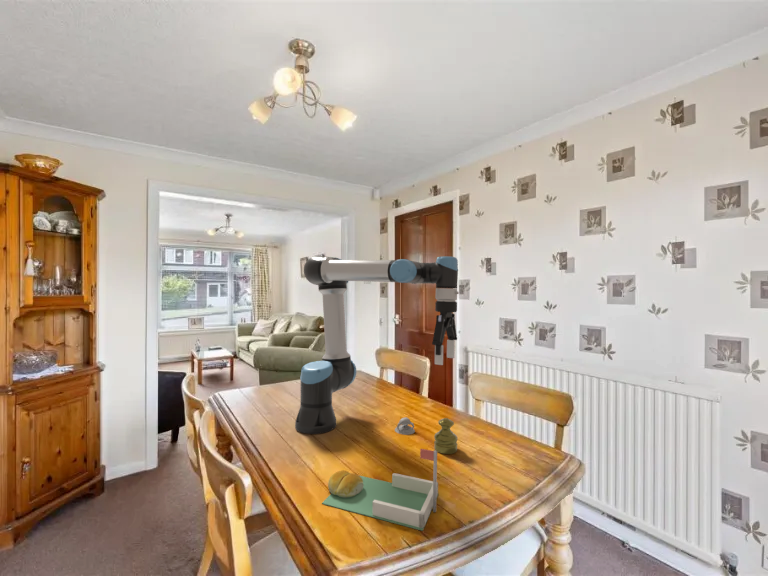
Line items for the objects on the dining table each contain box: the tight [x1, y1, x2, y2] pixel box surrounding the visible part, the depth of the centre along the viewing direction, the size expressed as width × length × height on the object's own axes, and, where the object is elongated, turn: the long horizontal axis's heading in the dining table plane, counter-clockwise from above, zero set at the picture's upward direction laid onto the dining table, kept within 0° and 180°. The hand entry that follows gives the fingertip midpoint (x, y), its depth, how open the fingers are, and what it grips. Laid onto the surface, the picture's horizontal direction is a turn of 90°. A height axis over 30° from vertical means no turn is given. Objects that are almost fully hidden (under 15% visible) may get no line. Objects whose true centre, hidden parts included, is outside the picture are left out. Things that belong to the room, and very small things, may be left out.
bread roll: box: [327, 469, 364, 498], centre depth 92 cm, size 8×9×4 cm
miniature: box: [394, 417, 416, 436], centre depth 132 cm, size 8×8×5 cm
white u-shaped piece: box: [372, 448, 439, 529], centre depth 86 cm, size 13×14×14 cm
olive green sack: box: [433, 417, 458, 455], centre depth 117 cm, size 7×8×10 cm
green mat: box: [321, 475, 439, 531], centre depth 89 cm, size 25×15×1 cm, turn 69°
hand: (444, 361), depth 126 cm, fingers open, 13 cm apart
